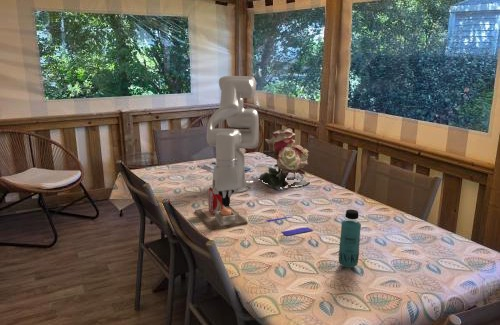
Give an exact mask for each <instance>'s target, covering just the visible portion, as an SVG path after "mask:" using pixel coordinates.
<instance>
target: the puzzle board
mask: <svg viewBox="0 0 500 325" xmlns="http://www.w3.org/2000/svg"><path fill="white" fill-rule="evenodd" d="M214 166H216V161H212V162H209V163H204V164H198V165H197V167H199V168H200V167H201V169H203V170H205V171H206V172H207V171H208V172H209V171H210V172H209V173H211V172H212V174H213V170H214ZM255 170H256V169H252V168H251V167H249V166H245V174H248V173H247V172H250V173H254V172H253V171H255Z"/></svg>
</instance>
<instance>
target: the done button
mask: <svg viewBox="0 0 500 325" xmlns="http://www.w3.org/2000/svg"><path fill="white" fill-rule="evenodd" d="M229 215H231V209H229V208H223V209H221V216H222V217H223V216H229Z"/></svg>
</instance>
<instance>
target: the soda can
mask: <svg viewBox="0 0 500 325" xmlns="http://www.w3.org/2000/svg"><path fill="white" fill-rule="evenodd" d="M213 190H214V188H213V187H212V184H210V185H209V188H208V190H207V196H208V198H207V199H208V208H209V211H210V212H211V213H213V214H215V212H217V211H221V209H223V208H225V206H224V205H223V204H222V196H221V195H220V194H214V193H213Z"/></svg>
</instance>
